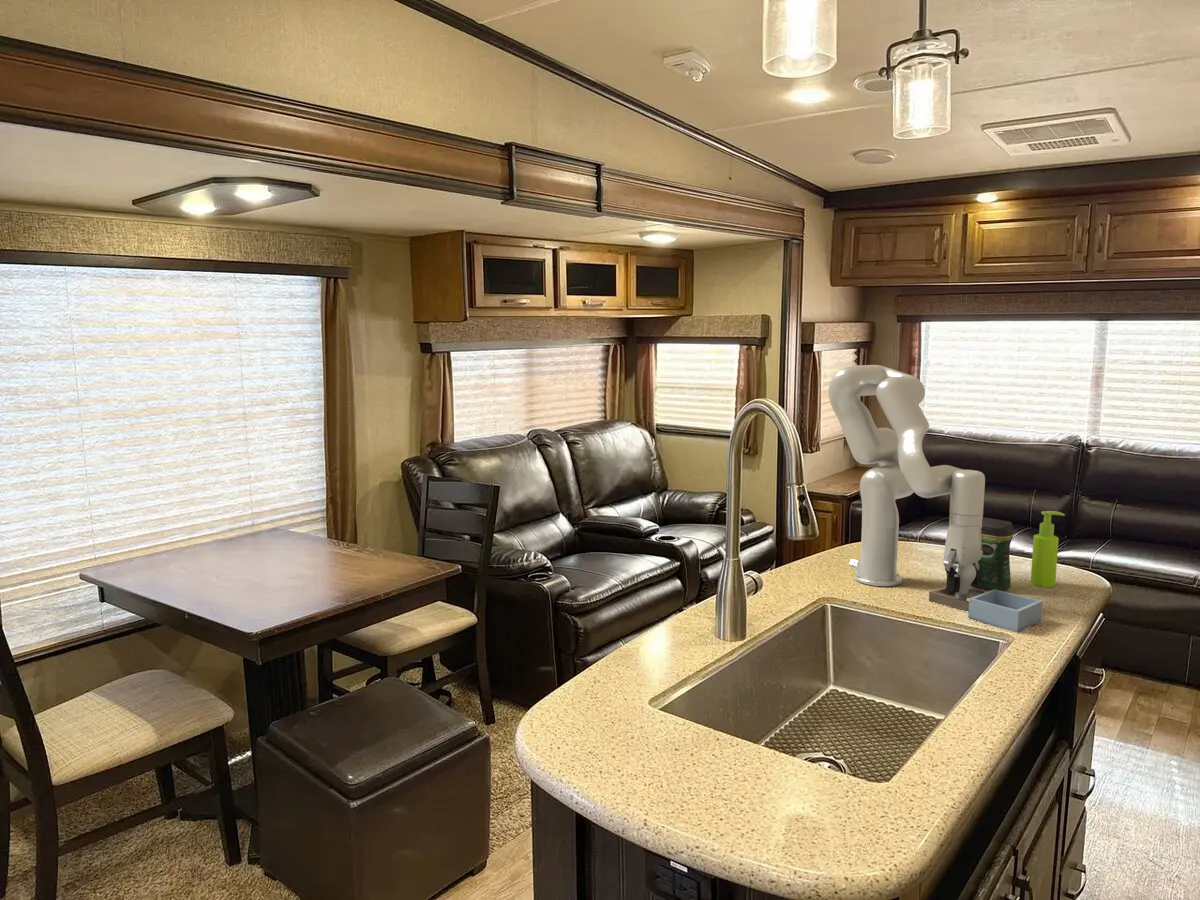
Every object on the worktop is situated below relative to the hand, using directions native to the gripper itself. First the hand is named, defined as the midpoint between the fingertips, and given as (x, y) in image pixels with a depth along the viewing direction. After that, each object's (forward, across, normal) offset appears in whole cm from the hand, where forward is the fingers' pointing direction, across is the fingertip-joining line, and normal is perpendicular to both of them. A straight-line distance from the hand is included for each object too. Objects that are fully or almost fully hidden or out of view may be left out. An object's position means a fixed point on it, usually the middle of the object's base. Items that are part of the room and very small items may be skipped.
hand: (961, 587), depth 206 cm
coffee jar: (+4, -18, -2) cm, 19 cm away
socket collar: (+4, 0, 0) cm, 4 cm away
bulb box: (+4, +4, +13) cm, 14 cm away
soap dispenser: (+4, -32, +6) cm, 33 cm away
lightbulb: (+4, 0, 0) cm, 4 cm away
